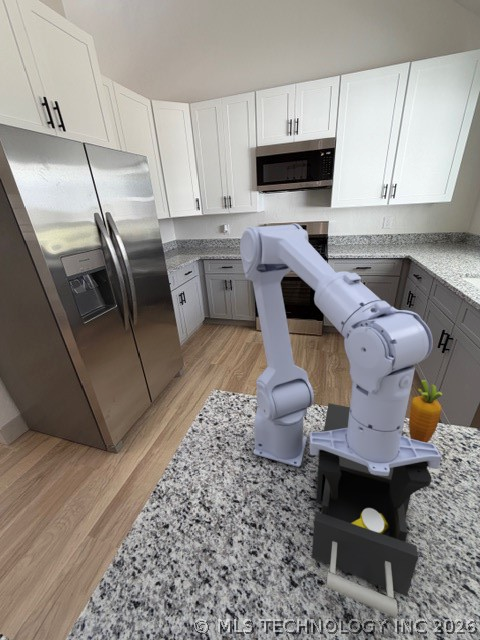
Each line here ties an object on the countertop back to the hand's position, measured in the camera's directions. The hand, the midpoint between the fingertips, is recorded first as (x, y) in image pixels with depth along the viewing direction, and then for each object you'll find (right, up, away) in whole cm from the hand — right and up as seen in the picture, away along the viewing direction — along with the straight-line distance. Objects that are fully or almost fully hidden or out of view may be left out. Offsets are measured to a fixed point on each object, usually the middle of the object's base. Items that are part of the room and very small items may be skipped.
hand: (363, 496), depth 37 cm
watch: (0, -7, +2) cm, 7 cm away
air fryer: (+5, -5, +13) cm, 15 cm away
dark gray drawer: (0, -8, +3) cm, 9 cm away
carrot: (+19, -2, +19) cm, 27 cm away
